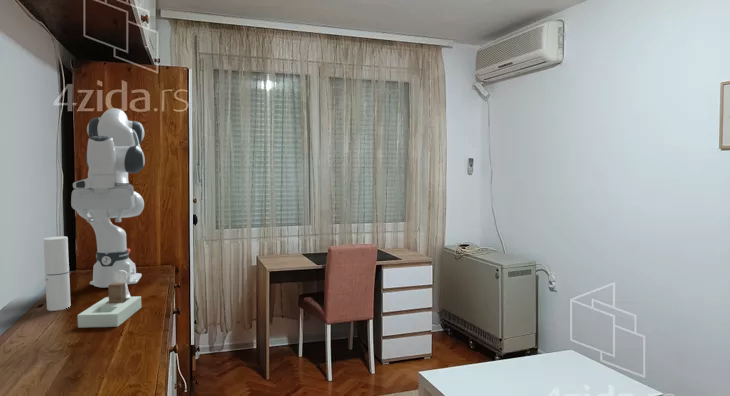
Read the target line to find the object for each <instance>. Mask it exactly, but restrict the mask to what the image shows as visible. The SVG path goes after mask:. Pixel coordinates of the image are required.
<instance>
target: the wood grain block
mask: <svg viewBox="0 0 730 396" xmlns="http://www.w3.org/2000/svg"><path fill="white" fill-rule="evenodd" d="M107 288H108V297H109V303H124V302H125V301H126V286H125V282H113V283H112V284H110V285H108V287H107Z"/></svg>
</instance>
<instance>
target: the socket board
mask: <svg viewBox="0 0 730 396" xmlns="http://www.w3.org/2000/svg"><path fill="white" fill-rule="evenodd" d="M140 309H142V296H139V295H138V296H137V295H136V296H131V297H126V301H125V302H124V303H109V296H106V297H104V298H102V299H101V300H99V301H97V302H96V303H94V304H92V305H91V306H90V307H87V308H86V309H85V310H83V311H82V312H80V313H79V314H77V328H78V329H79V328H80V329H81V328H109V327H110V328H113V327H119V326H120V325H122V324H123V323H124V322H125V321H127V320H128V319H129V318H130V317H131V316H133V315H134V314H135V313H136V312H137V311H139V310H140Z"/></svg>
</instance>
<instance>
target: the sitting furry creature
mask: <svg viewBox="0 0 730 396" xmlns="http://www.w3.org/2000/svg"><path fill="white" fill-rule="evenodd" d="M114 273H115V276H114V278H115V281H116V282H125V281H126V280H127V278H128V277H129V276H130V273H131V272H130V273H127V272H126V271H124V270H119V271H117V272H114ZM125 286H126V297H132V296H131V293H130V291H129V287H128V285H127V284H126V282H125Z"/></svg>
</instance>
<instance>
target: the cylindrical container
mask: <svg viewBox="0 0 730 396" xmlns="http://www.w3.org/2000/svg"><path fill="white" fill-rule="evenodd" d="M43 257H44V273H45V274H44V275H45V276H44V277H45V291H46V292H45V293H46V294H45V295H46V310H47V311H49V312H53V311H55V312H56V311H63V310H67V309H69V308H71V307H70V306H71V305H72V304H71V283H70V265H69V264H70V262H69V259H70V258H69V238H68V236H65V235H64V236H50V237H48V236H47V237H44V238H43ZM68 307H69V308H68ZM66 308H67V309H66Z"/></svg>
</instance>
